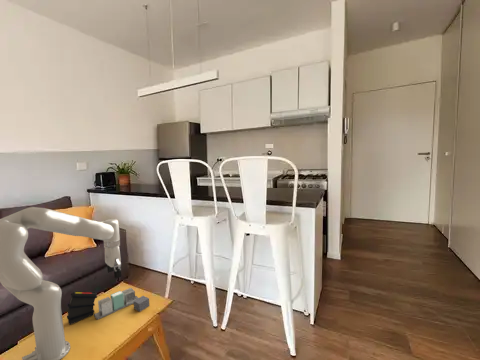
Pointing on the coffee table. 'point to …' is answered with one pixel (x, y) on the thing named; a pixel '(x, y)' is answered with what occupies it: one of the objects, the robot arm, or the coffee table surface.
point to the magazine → (80, 306)
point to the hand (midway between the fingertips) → (114, 274)
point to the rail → (106, 303)
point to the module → (117, 300)
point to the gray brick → (141, 303)
